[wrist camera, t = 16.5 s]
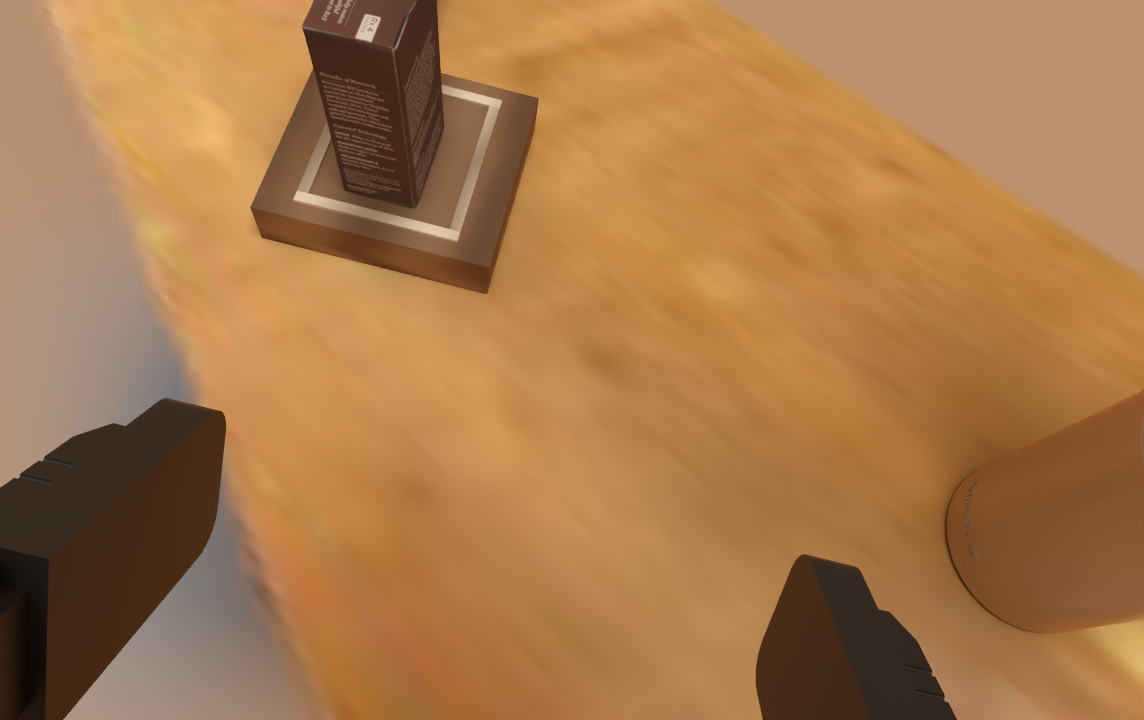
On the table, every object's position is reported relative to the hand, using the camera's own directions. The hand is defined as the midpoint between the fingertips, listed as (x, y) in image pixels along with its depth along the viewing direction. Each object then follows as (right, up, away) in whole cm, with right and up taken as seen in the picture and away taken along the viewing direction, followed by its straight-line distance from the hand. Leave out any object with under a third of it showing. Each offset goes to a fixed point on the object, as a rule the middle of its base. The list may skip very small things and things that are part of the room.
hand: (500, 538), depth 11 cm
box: (-9, +14, +35) cm, 39 cm away
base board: (-9, +13, +38) cm, 41 cm away
